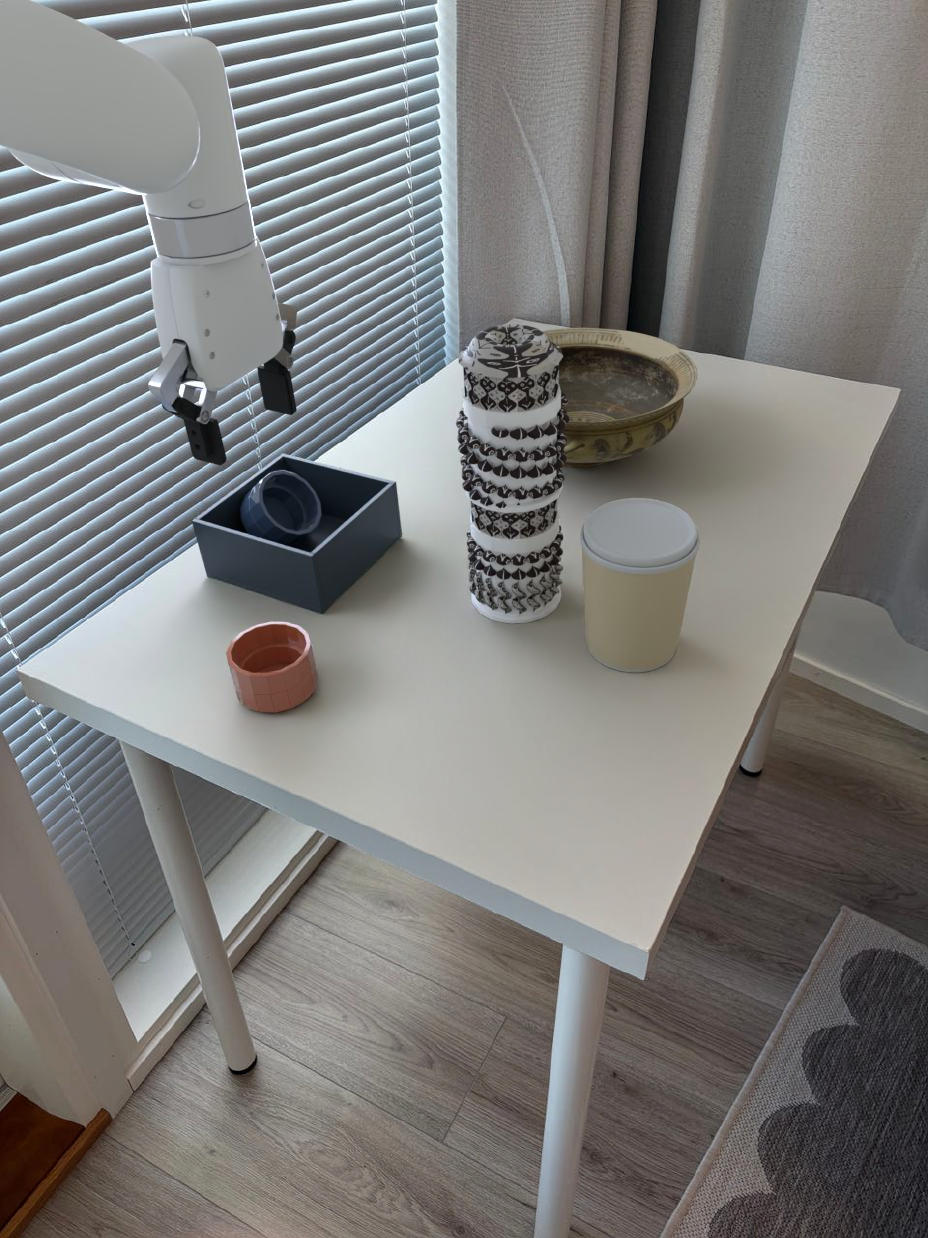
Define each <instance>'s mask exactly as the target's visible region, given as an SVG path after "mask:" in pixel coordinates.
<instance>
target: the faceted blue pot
mask: <svg viewBox="0 0 928 1238" xmlns="http://www.w3.org/2000/svg"><path fill="white" fill-rule="evenodd" d="M240 515H241V521H242V523H243V525H244V528H245V530H246V531H247V533H248V534H249V535H252V536H256V537H259V538H262V539H266V540H269V541H272V542H276V543H279V544H282V545H286V546H289V547H293V546H294V545H295V544H297V543H298V542H299V541H300V540H302V539H303V538H304V537H305V536H307V535H308V534H309V533H310V532H311V531H312V530H314V529H315V528H316V527H317V526H318V524H319V521H320V518H321V515H322V514H321V503H320V501H319V498H318V496H317V494H316V492H315V490H314V489H313V488H312V487H311V485H310V484H309V483H308V482H307V481H306V480H305V479H303V478H302V477H300V476H298V475H297V474H295V473H292V472H288V471H284V470H281V471H275V472H271V473H269V474H268V475H267V476H266V477H264V478H263V479H262V480H261V481H260V482H259V483H258V484H257V485H256V486H255V487H254V488H252V489H251V490H250V491H249V492H248V493H247V494H246V495H245V496H244V499H243V501H242V503H241V506H240Z"/></svg>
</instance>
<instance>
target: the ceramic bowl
mask: <svg viewBox="0 0 928 1238" xmlns="http://www.w3.org/2000/svg"><path fill="white" fill-rule="evenodd" d="M541 331H542V332H543V333H545V334H546V335H547V336H548V338H549V339H550V341H552V342H553V343H554V344H556V345H557V346H559V347H560V348H561V350H562V354H563V358H562V359H561V360H560V362H559V386H560V390H561V392H563V394H565V395H566V397H565V398H564V399H566V400H568V404H567V405H565V406H563V407H562V405H561V407H562V408H564V409H565V410H566V411H567V415H568V416H569V422H568V423H566V427H565V428H564V429H563V430H562V431H563V432H564V435H565V436H566V438H567V443H566V444H565V448H564V451H565V453H564V454H565V455H566V457H567V460H566V462H564V463H563V466H565V467H566V466H567V467H571V468H590V467H596V466H599V465H602V464H605V463H607V462H611V461H616V460H620V459H624V458H629V457H632V456H635V455H637V454H639V453H642V452H645V451H647V450H649V449H650V448H653V447H655V446H656V445H657V444H659V443H660V442H661V441H663V440H664V439H665V438H666V437H668V436H669V434H671V433H672V432H673V430H674V429H675V427H676V426H677V425H678V423H679V421H680V419H681V416H682V413H683V411H684V410H683V409H684V399H685V398H686V397H687V396H688V395H689V394H690V393H691V392H692V390H693V389H694V388H695V386H696V383H697V380H698V369H697V366H696V364H695V362H694V361H693V360H692V358H691V357H690V356H689V355H688V354H687V353H686V352H684V351H683V350H682V349H681V348H679V347H678V346H676V345H675V344H673V343H671V342H669V341H666V340H664V339H662V338H659V337H656V336H653V335H648V334H645V333H640V332H636V331H630V330H622V329H613V328H612V329H611V328H601V327H600V328H599V327H598V328H597V327H567V328H566V327H565V328H554V329H548V330H547V329H546V330H541ZM557 421H558V416H557Z"/></svg>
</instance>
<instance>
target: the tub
mask: <svg viewBox="0 0 928 1238" xmlns="http://www.w3.org/2000/svg"><path fill="white" fill-rule="evenodd" d="M281 470H284V471H288V472H292V473H295V474H297V475H298V476H300V477H302V478H303V479H305V480H306V481H307V482H308V483H309V484H310V485H311V487H312V488H313V489H314V490H315V492H316V494H317V496H318V498H319V501H320V503H321V514H322V515H321V518H320V521H319V524H318V526H317V527H316V528H315V529H314V530H312V531H311V532H310V533H309V534H308V535H307V536H305V537H304V538H303V539H302V540H300V541H299V542H298V543H297V544H295V545H294V546H293V547H289V546H286V545H282V544H279V543H276V542H272V541H269V540H266V539H262V538H259V537H256V536H252V535H249V534H248V533H247V531H246V530H245V528H244V525H243V523H242V521H241V515H240V506H241V503H242V501H243V499H244V496H245V495H246V494H247V493H248V492H249V491H250V490H251V489H252V488H254V487H255V486H256V485H257V484H258V483H259V482H260V481H261V480H262V479H263V478H264V477H266V476H267V475H268V474H269V473H271V472H275V471H281ZM400 513H401V512H400V504H399V494H398V485H397V481H395V480H391V479H386V478H383V477H378V476H376V475H375V476H374V475H371V474H366V473H363V472H359V471H354V470H350V469H347V468H342V467H338V466H334V465H330V464H327V463H323V462H319V461H314V460H310V459H306V458H302V457H299V456H294V455H290V454H286V453H281V454H279V456H277V457H276V458H274V459H273V460H272V461H270V462H269V463H268V464H266V465H265V466H263V468H261V469H259V470H258V471H257V472H256V473H255V474H253V475H252V476H250V477H249V478H248V479H246V480H245V481H243V482H242V483H240V485H238V486H237V487H235V488H234V489H233V490H231V491H230V492H228V493H227V494H226V495H224V497H221V498H220V499H219V500H218V501H216V502H215V503H214V504H212V505H211V506H210V507H208V508H207V509H206V510H205V511H203V512H201V513H200V514H198V516H196V517H195V518H193V520H191V525H192V527H193V531H194V535H195V538H196V542H197V545H198V550H199V553H200V556H201V559H202V564H203V567H204V571H205V574H206V576H207V577H208V578H211V579H214V580H217V581H220V582H223V583H226V584H229V585H232V586H235V587H238V588H242V589H244V590H247V591H251V592H253V593H257V594H260V595H262V596H266V597H269V598H272V599H275V600H277V601H281V602H284V603H287V604H290V605H293V606H296V607H300V608H302V609H304V610H305V609H306V610H309V611H312V612H314V613H318V614H319V615H323V614H324V613H326V612H327V611H328V609H330V607H332V606H333V605H334V604H335V603H336V602H337V601H338V600H339V599H340V598H341V597H342V596H343V595H344V594H345V593H346V592H348V590H349V589H350V588H352V587H353V585H354V584H355V583H356V582H358V581H359V580H360V578H361V577H362V576H363V575H365V574H366V573H367V572H368V571H369V570H370V569H371V568H372V567H373V566H374V565H375V564H377V562H378V561H379V560H381V558H382V557H383V556H385V554H386V553H387V552H388V551H390V550H391V549H392V547H393V546H395V545H396V544H397V543H398V542H399V541H400V540H401V539H402V538H403V530H402V520H401V514H400Z"/></svg>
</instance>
